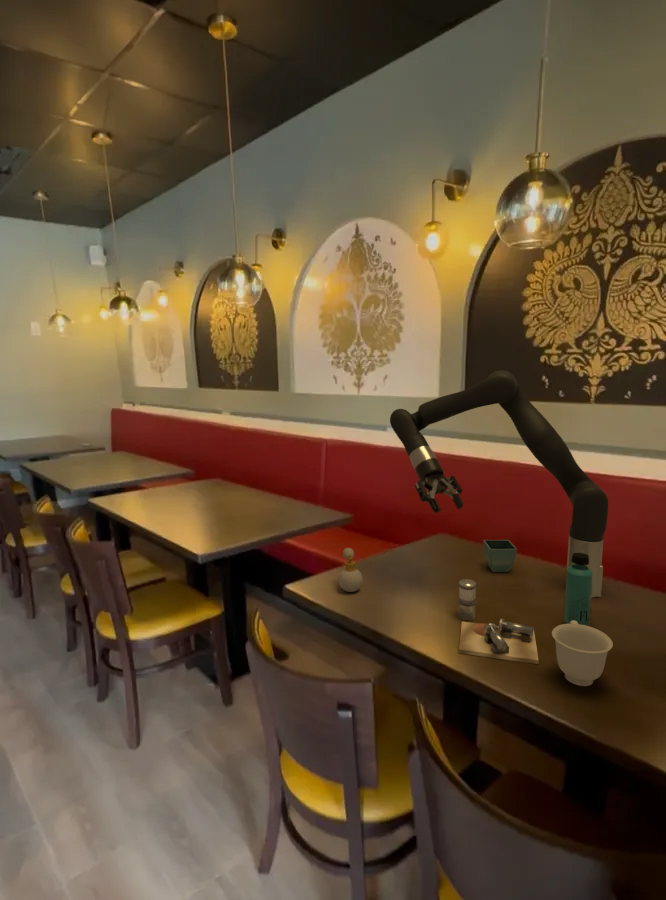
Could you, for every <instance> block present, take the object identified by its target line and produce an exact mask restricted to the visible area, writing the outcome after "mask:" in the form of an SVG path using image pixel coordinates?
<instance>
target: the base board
mask: <svg viewBox="0 0 666 900" xmlns="http://www.w3.org/2000/svg"><path fill="white" fill-rule="evenodd" d="M486 624H487V623H478V622H477V623H476V622H469V621H461V628H460V636H459V637H460V638H459V647H458V653H459V654H464V655H470V656H475V657H477V656H478V657H484V658H490V659H498V660H499V659H500V660H505V661H512V662H518V663H519V662H520V663H528V664H536V665H539V656H538V655H539V654H538V649H537V648H538V647H537V642H536V636H535V630H533V637H531V639H530V643H527V642H522V641H521V634H516V633H512V636H511V639H508V638H504V637H502V638H503V639H504V640H505V642H506V643H507V645H508V646H509V653H504V654H494V653H493V652H492V650H491V644H487V643H486V641H485V640H484V639H485V632H484V627H485V625H486ZM496 626H497V627H498V629H499V625H496ZM498 632H499V630H498ZM499 633H500V635H501V636H502V632H499Z"/></svg>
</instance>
